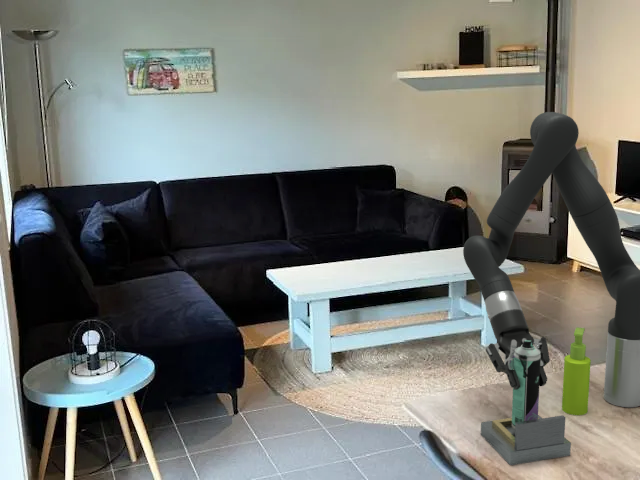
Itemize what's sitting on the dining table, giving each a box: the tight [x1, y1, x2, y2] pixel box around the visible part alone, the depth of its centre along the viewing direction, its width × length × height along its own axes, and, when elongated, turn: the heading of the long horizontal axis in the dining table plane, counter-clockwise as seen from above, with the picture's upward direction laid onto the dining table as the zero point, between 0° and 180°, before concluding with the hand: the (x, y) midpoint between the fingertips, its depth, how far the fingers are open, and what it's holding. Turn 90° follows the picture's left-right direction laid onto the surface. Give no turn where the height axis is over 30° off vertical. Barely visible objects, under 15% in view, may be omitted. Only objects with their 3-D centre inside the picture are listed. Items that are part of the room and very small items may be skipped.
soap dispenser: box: [561, 326, 592, 416], centre depth 180 cm, size 6×7×20 cm
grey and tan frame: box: [480, 414, 572, 466], centre depth 165 cm, size 14×14×9 cm
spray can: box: [511, 339, 541, 429], centre depth 163 cm, size 6×6×20 cm
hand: (530, 386), depth 162 cm, fingers closed on spray can, 5 cm apart
